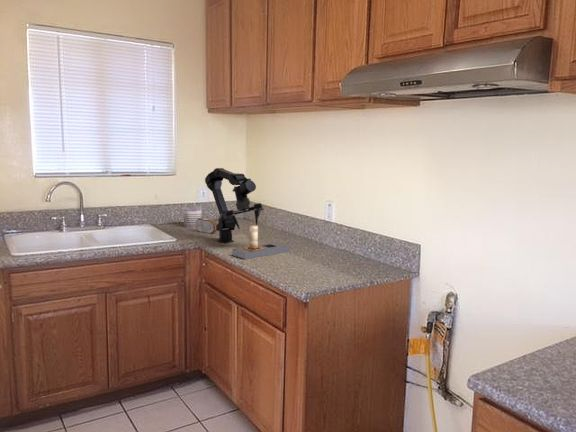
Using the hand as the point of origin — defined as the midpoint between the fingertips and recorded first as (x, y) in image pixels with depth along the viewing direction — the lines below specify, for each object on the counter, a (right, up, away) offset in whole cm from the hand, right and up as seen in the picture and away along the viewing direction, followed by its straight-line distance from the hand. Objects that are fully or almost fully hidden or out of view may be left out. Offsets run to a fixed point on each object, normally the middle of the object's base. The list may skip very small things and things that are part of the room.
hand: (248, 227), depth 244 cm
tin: (-28, -4, +43) cm, 51 cm away
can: (-40, -1, +62) cm, 73 cm away
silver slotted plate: (+7, -13, -6) cm, 16 cm away
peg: (+3, -13, -9) cm, 16 cm away
